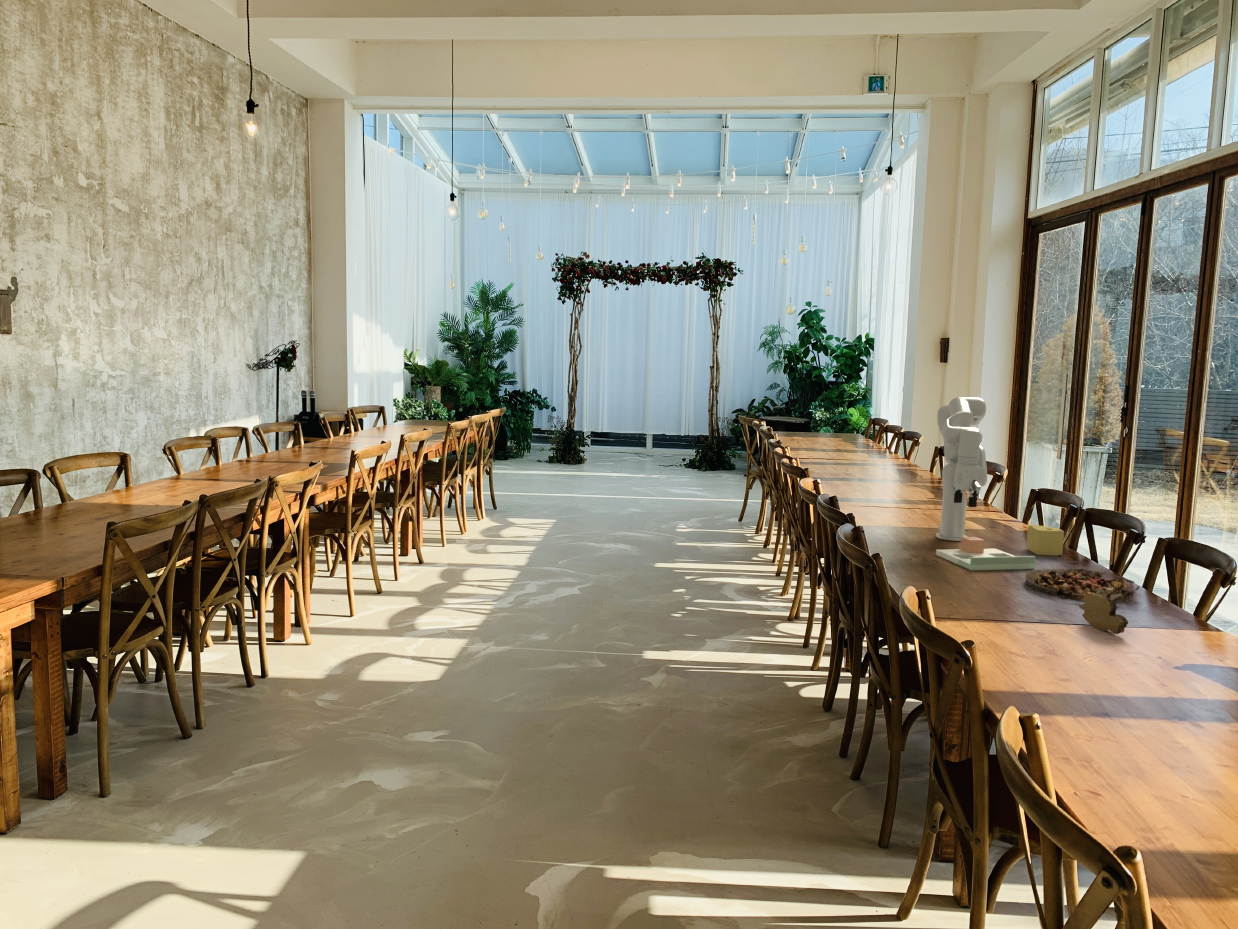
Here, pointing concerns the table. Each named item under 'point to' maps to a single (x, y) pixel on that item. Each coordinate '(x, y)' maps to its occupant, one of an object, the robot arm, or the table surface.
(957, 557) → the board
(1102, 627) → the wooden carving
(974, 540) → the block
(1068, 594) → the food dish
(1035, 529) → the cheese
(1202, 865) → the table surface
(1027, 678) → the table surface
